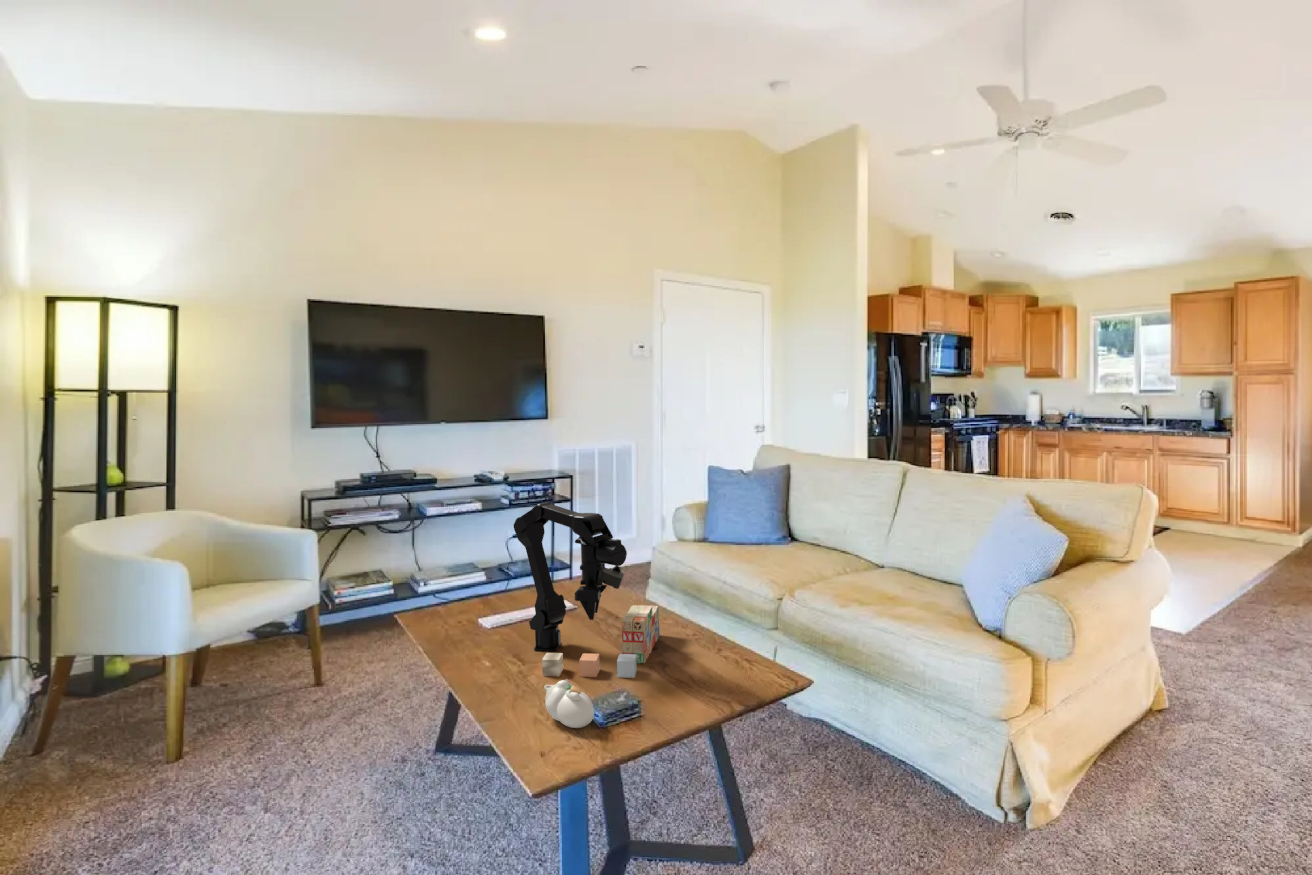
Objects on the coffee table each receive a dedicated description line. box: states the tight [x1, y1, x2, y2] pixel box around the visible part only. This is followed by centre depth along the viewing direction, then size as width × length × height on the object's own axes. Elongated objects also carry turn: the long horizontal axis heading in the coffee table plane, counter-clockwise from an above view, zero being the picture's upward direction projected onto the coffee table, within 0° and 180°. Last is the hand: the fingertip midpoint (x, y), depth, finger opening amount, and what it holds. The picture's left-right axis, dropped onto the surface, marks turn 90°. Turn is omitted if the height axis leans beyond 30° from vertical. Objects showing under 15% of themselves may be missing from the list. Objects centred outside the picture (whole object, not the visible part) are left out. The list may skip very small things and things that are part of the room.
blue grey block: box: [616, 653, 638, 679], centre depth 176 cm, size 4×4×4 cm
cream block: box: [541, 652, 564, 677], centre depth 177 cm, size 4×4×4 cm
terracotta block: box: [578, 652, 601, 678], centre depth 176 cm, size 4×4×4 cm
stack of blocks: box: [621, 604, 660, 664], centre depth 192 cm, size 21×6×12 cm, turn 168°
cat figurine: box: [543, 678, 595, 729], centre depth 151 cm, size 10×8×15 cm
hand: (593, 616), depth 183 cm, fingers open, 5 cm apart
